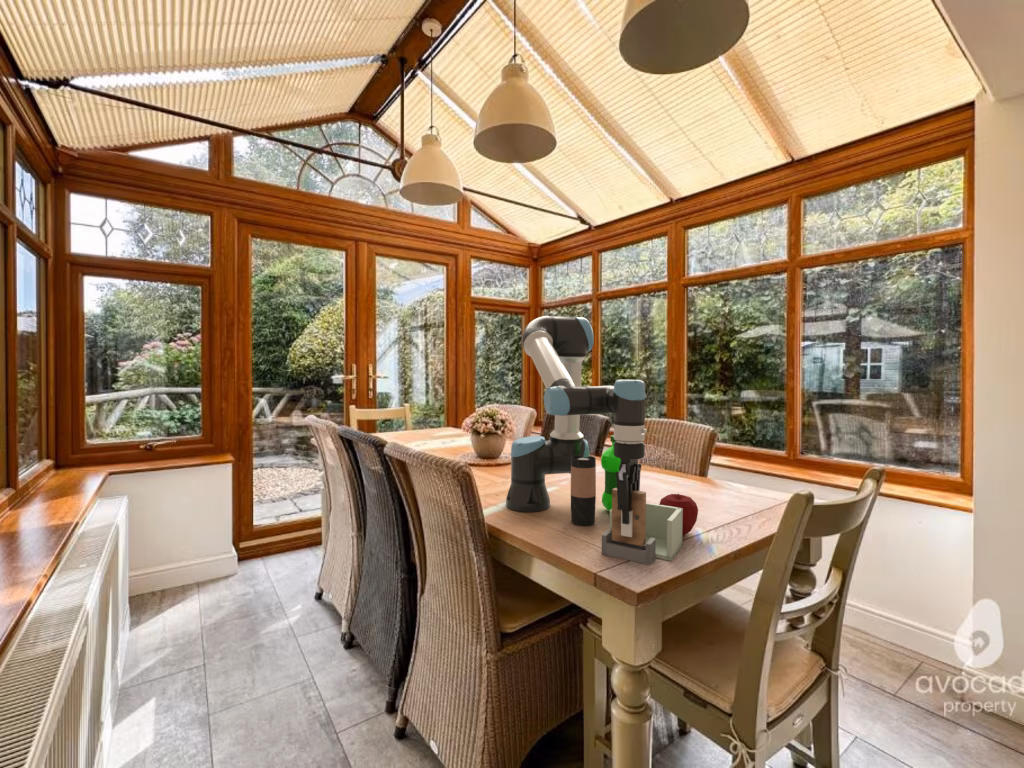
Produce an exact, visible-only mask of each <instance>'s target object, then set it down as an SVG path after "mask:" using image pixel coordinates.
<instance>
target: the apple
mask: <svg viewBox="0 0 1024 768" xmlns="http://www.w3.org/2000/svg"><path fill="white" fill-rule="evenodd" d="M658 505H665V506H671V507H678V508H683V532H682V537H683V536H686V535H688V534H689V533H690V532H691V531H692V529H694V526H695V525H696V523H697V520H698V515H699V514H698V513H699V508H698V505H697V502H696V501H695V500H693V499H692V497H691V496H687V495H684V494H680V493H670V494H667V495H665V496H664V497H662V498H661V499H660V501H659V504H658Z"/></svg>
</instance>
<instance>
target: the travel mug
mask: <svg viewBox="0 0 1024 768" xmlns="http://www.w3.org/2000/svg"><path fill="white" fill-rule="evenodd" d="M596 459H597V458H596V457H595V456H592V455H589V457H582V456H573V457H571V474H570V519H571V520H570V521H571V523H572V524H573V525H576V526H580V527H589V526H594V525H595V523H596V503H597V502H596V500H597V485H596V484H597V483H596V482H597V481H596V480H597V477H596V476H597V469H596V468H597V466H596V465H597V464H596Z"/></svg>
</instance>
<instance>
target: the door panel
mask: <svg viewBox="0 0 1024 768" xmlns="http://www.w3.org/2000/svg"><path fill="white" fill-rule="evenodd" d="M646 503H647V492H646V491H641V490H640V491H635V490H632V503H631V510H632V511H633V536H632V537H627V536H622V535H621V510H618V509H617V507H618V499H617V488H614V489H612V540H614V541H619V542H624V543H629V544H634V545H639V546H644V545H645V544H646Z"/></svg>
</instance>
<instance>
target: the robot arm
mask: <svg viewBox="0 0 1024 768" xmlns="http://www.w3.org/2000/svg"><path fill="white" fill-rule="evenodd" d="M594 337H595V336H594V331H593V327H592V325H591V323H590V321H589V320H588V319H587V318H586V317H581V316H548V315H544V316H539V317H536V318H535V319H533V320H532V321H530V322H529V323H528V324H527V325H526V326H525V328H524V330H523V333H522V335H521V344H522V348H523V350H524V352H525V354H526V355H527V356H528V357H531V359H532V362H533V363H534V366H535V369H536V370H537V372H538V375H539V376H540V378H541V380H542V383H543V384H544V387H545V388H546V389H545V391H544V395H543V403H544V409H545V411H546V413H547V414H548V415H551V416H554V429H553V430H552V432H550V433H549V439H547V440H546V438H545V436H540V435H535V436H534V435H532V436H531V435H530V436H524V437H520V438H517V439H515V440H514V441H513V442H512V443H511V447H510V455H509V456H510V486H509V488H508V491H507V495H506V500H505V506H506V507H507V509H510V510H512V511H517V512H525V513H526V512H527V513H528V512H529V513H530V512H531V513H532V512H534V513H535V512H541V511H544V510H547V509H549V508H550V507H551V497H550V495H549V491H548V489H547V485H546V475H555V474H556V475H558V474H570V475H571V457H573V456H582V457H589V456H590V449H589V447H590V445H589V442H588V440H587V439H584V434H583V433H582V432H581V431H580V424H581V423H580V422H581V419H580V418H581V417H580V415H584V416H585V415H613V435H614V439H615V440H616V441H615V443H614V456H615V457H617V458H620V459H621V462H620V465H619V472H616V479H617V499H618V507H617V509H618V510H621V535H622V536H627V537H632V536H633V511H632V510H631V503H632V490H635V491H641V490H640V489H641V488H640V487H641V472H642V471H641V470H642V463H639V462H638V461H639V460H640V459H643V458H644V457H645V456H646V455H645V452H646V451H645V449H646V445H645V444H646V443H644V441H645V436H646V433H648V432H647V431H648V430H647V428H645V427H646V425H645V424H646V422H645V421H646V397H647V395H646V385H645V382H644V381H643V380H641V379H617V380H616V381H615V382H614V384H613V385H599V386H591V385H590V386H587V385H586V386H582V364H583V362H584V360H585V359H586V358H587V355H588V354H587V353H589V352H590V351H592V349H593V345H594V342H595V341H594V340H595V339H594Z"/></svg>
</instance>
